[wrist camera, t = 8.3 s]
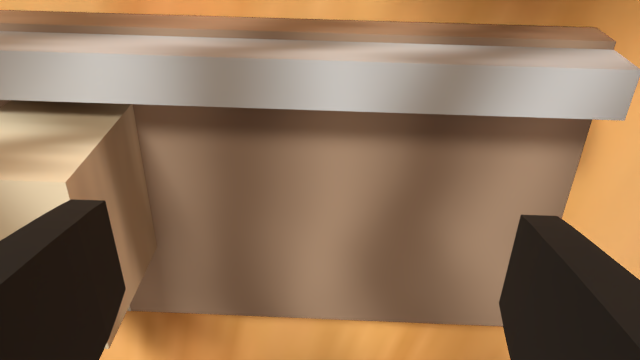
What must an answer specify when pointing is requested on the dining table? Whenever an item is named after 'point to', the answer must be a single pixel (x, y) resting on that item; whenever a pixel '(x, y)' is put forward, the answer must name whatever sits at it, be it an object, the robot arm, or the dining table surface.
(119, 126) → the block
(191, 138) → the marking board
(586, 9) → the dining table surface
